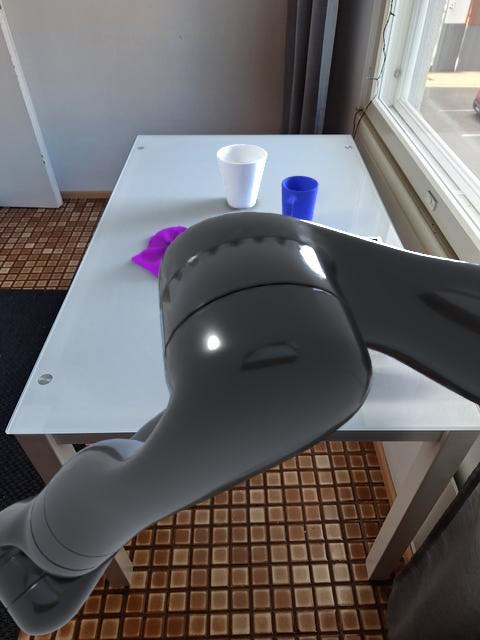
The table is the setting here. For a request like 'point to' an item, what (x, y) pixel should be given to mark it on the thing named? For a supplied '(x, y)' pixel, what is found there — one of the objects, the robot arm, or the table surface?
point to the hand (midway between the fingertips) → (281, 358)
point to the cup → (241, 173)
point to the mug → (299, 197)
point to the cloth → (157, 249)
